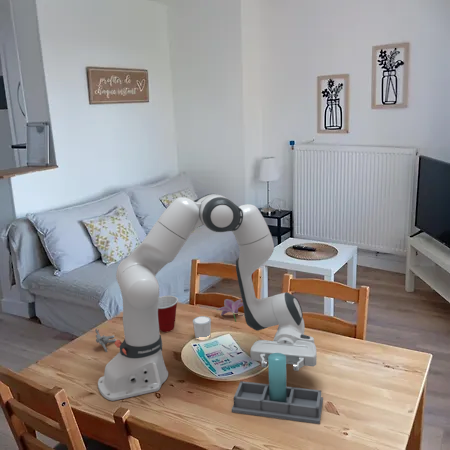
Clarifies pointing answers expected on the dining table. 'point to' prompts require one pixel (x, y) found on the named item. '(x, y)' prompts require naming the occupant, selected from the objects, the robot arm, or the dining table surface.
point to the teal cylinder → (277, 377)
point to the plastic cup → (167, 313)
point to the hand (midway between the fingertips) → (279, 366)
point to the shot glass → (202, 326)
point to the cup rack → (278, 403)
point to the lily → (231, 306)
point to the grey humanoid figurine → (104, 340)
